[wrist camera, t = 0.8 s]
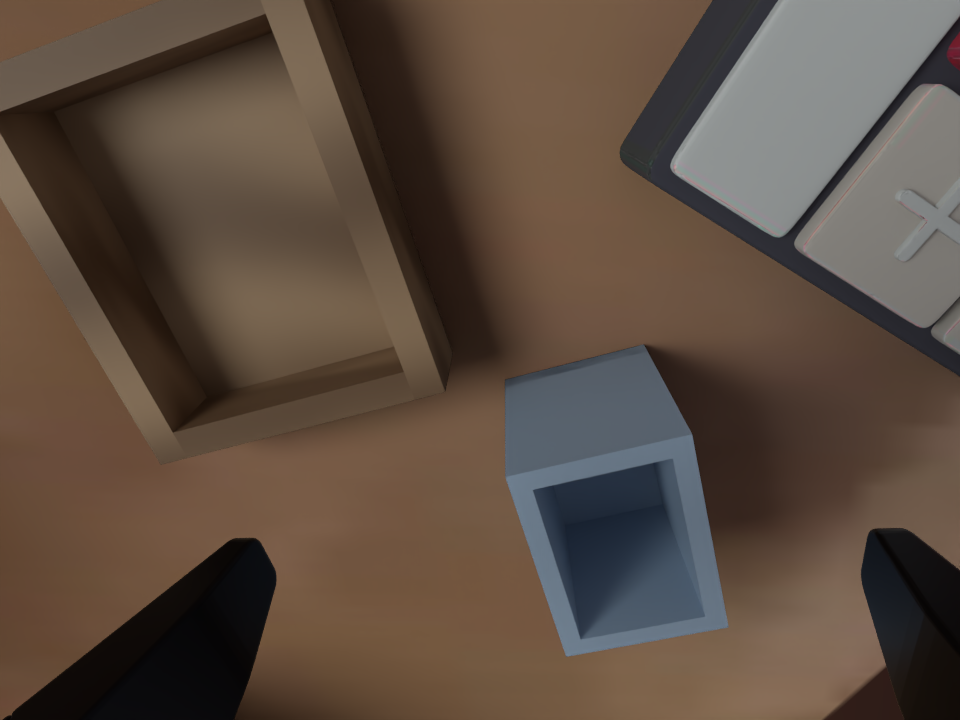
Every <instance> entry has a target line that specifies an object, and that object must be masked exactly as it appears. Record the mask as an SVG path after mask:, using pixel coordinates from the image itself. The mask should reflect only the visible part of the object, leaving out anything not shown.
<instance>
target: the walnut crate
mask: <svg viewBox="0 0 960 720" xmlns="http://www.w3.org/2000/svg"><path fill="white" fill-rule="evenodd" d="M0 198H1V199H2V201H3V203H4V204H5V206H6V208H7V209H8V211H9V213H10V214H11V216H12V218H13V219H14V221H15V223H16V224H17V226H18V228H19V229H20V231H21V233H22V234H23V236H24V238H25V239H26V241H27V243H28V244H29V246H30V248H31V249H32V251H33V253H34V254H35V256H36V258H37V259H38V261H39V263H40V264H41V266H42V268H43V269H44V271H45V273H46V274H47V276H48V278H49V279H50V281H51V283H52V284H53V286H54V288H55V289H56V291H57V293H58V294H59V296H60V298H61V299H62V301H63V303H64V304H65V306H66V308H67V309H68V311H69V313H70V314H71V316H72V318H73V319H74V321H75V323H76V324H77V326H78V328H79V329H80V331H81V333H82V334H83V336H84V338H85V339H86V341H87V343H88V344H89V346H90V348H91V349H92V351H93V353H94V354H95V356H96V358H97V359H98V361H99V363H100V364H101V366H102V368H103V369H104V371H105V373H106V374H107V376H108V378H109V379H110V381H111V383H112V384H113V386H114V388H115V389H116V391H117V393H118V394H119V396H120V398H121V399H122V401H123V403H124V404H125V406H126V408H127V409H128V411H129V413H130V414H131V416H132V418H133V419H134V421H135V423H136V424H137V426H138V428H139V429H140V431H141V433H142V434H143V436H144V438H145V439H146V441H147V443H148V444H149V446H150V448H151V449H152V451H153V453H154V454H155V456H156V458H157V459H158V461H159V463H160V464H161V465H162V464H166V463H170V462H174V461H178V460H181V459H185V458H189V457H193V456H197V455H201V454H205V453H209V452H213V451H217V450H221V449H225V448H229V447H232V446H236V445H240V444H244V443H248V442H252V441H256V440H260V439H264V438H268V437H272V436H276V435H280V434H283V433H287V432H291V431H295V430H299V429H303V428H307V427H311V426H315V425H319V424H323V423H327V422H331V421H334V420H338V419H342V418H346V417H350V416H354V415H358V414H362V413H366V412H370V411H374V410H378V409H381V408H385V407H389V406H393V405H397V404H401V403H405V402H409V401H413V400H417V399H421V398H425V397H429V396H432V395H436V394H440V393H444V392H445V391H446V386H447V381H448V375H449V370H450V365H451V360H452V355H453V353H452V350H451V347H450V344H449V341H448V339H447V336H446V333H445V330H444V327H443V324H442V321H441V318H440V315H439V313H438V310H437V307H436V304H435V301H434V298H433V295H432V292H431V289H430V287H429V284H428V281H427V278H426V275H425V272H424V269H423V266H422V264H421V261H420V258H419V255H418V252H417V249H416V246H415V243H414V240H413V238H412V235H411V232H410V229H409V226H408V223H407V220H406V217H405V214H404V212H403V209H402V206H401V203H400V200H399V197H398V194H397V191H396V189H395V186H394V183H393V180H392V177H391V174H390V171H389V168H388V165H387V163H386V160H385V157H384V154H383V151H382V148H381V145H380V142H379V139H378V137H377V134H376V131H375V128H374V125H373V122H372V119H371V116H370V113H369V111H368V108H367V105H366V102H365V99H364V96H363V93H362V90H361V88H360V85H359V82H358V79H357V76H356V73H355V70H354V67H353V64H352V62H351V59H350V56H349V53H348V50H347V47H346V44H345V41H344V38H343V36H342V33H341V30H340V27H339V24H338V21H337V18H336V15H335V13H334V10H333V7H332V4H331V1H330V0H162V1H159V2H156V3H154V4H151V5H149V6H146V7H143V8H141V9H138V10H136V11H133V12H130V13H128V14H125V15H122V16H120V17H117V18H115V19H112V20H109V21H107V22H104V23H102V24H99V25H96V26H94V27H91V28H89V29H86V30H83V31H81V32H78V33H76V34H73V35H70V36H68V37H65V38H63V39H60V40H57V41H55V42H52V43H49V44H47V45H44V46H42V47H39V48H36V49H34V50H31V51H29V52H26V53H23V54H21V55H18V56H16V57H13V58H10V59H8V60H5V61H3V62H0Z"/></svg>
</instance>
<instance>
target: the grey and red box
mask: <svg viewBox="0 0 960 720" xmlns="http://www.w3.org/2000/svg"><path fill="white" fill-rule="evenodd" d="M620 158H621V160H622V162H623V163H624V164H625V165H626V166H627V167H629V168H630V169H632V170H633V171H634V172H636V173H637V174H639V175H640V176H642V177H643V178H645V179H646V180H648V181H650V182H651V183H653V184H654V185H656V186H657V187H659V188H660V189H662V190H663V191H665V192H667V193H668V194H670V195H671V196H673V197H675V198H676V199H678V200H679V201H681V202H683V203H684V204H686V205H687V206H689V207H691V208H692V209H694V210H695V211H697V212H699V213H700V214H702V215H703V216H705V217H707V218H708V219H710V220H711V221H713V222H715V223H716V224H718V225H719V226H721V227H722V228H724V229H726V230H727V231H729V232H730V233H732V234H734V235H735V236H737V237H738V238H740V239H742V240H743V241H745V242H746V243H748V244H750V245H751V246H753V247H754V248H756V249H758V250H759V251H761V252H762V253H764V254H766V255H767V256H769V257H770V258H772V259H774V260H775V261H777V262H778V263H780V264H782V265H783V266H785V267H786V268H788V269H789V270H791V271H793V272H794V273H796V274H797V275H799V276H801V277H802V278H804V279H805V280H807V281H809V282H810V283H812V284H813V285H815V286H817V287H818V288H820V289H821V290H823V291H825V292H826V293H828V294H829V295H831V296H833V297H834V298H836V299H837V300H839V301H841V302H842V303H844V304H845V305H847V306H848V307H850V308H852V309H853V310H855V311H856V312H858V313H860V314H861V315H863V316H864V317H866V318H868V319H869V320H871V321H872V322H874V323H876V324H877V325H879V326H880V327H882V328H884V329H885V330H887V331H888V332H890V333H892V334H893V335H895V336H896V337H898V338H900V339H901V340H903V341H904V342H906V343H908V344H909V345H911V346H912V347H914V348H915V349H917V350H919V351H920V352H922V353H923V354H925V355H927V356H928V357H930V358H931V359H933V360H935V361H936V362H938V363H939V364H941V365H943V366H944V367H946V368H947V369H949V370H951V371H952V372H954V373H955V374H957V375H959V376H960V0H713V1H712V2H711V4H710V6H709V7H708V9H707V10H706V12H705V14H704V15H703V17H702V18H701V20H700V21H699V23H698V25H697V26H696V28H695V29H694V31H693V33H692V34H691V36H690V37H689V39H688V40H687V42H686V44H685V45H684V47H683V48H682V50H681V51H680V53H679V55H678V56H677V58H676V59H675V61H674V63H673V64H672V66H671V67H670V69H669V70H668V72H667V74H666V75H665V77H664V78H663V80H662V81H661V83H660V85H659V86H658V88H657V89H656V91H655V93H654V94H653V96H652V97H651V99H650V100H649V102H648V104H647V105H646V107H645V108H644V110H643V112H642V113H641V115H640V116H639V118H638V119H637V121H636V123H635V124H634V126H633V127H632V129H631V130H630V132H629V134H628V135H627V137H626V138H625V140H624V142H623V144H622V146H621V148H620Z"/></svg>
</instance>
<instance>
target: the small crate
mask: <svg viewBox="0 0 960 720" xmlns="http://www.w3.org/2000/svg"><path fill="white" fill-rule="evenodd" d="M505 477H506V480H507V483H508V486H509V489H510V492H511V495H512V498H513V501H514V504H515V507H516V510H517V513H518V516H519V518H520V521H521V524H522V527H523V530H524V533H525V536H526V539H527V542H528V545H529V548H530V551H531V554H532V557H533V560H534V563H535V566H536V569H537V572H538V575H539V578H540V580H541V583H542V586H543V589H544V592H545V595H546V598H547V601H548V604H549V607H550V610H551V613H552V616H553V619H554V622H555V625H556V628H557V631H558V634H559V637H560V639H561V642H562V645H563V648H564V651H565V654H566V657H567V656H573V655H578V654H584V653H589V652H595V651H600V650H606V649H611V648H617V647H622V646H628V645H633V644H639V643H644V642H650V641H656V640H661V639H667V638H672V637H678V636H683V635H689V634H694V633H700V632H705V631H711V630H716V629H722V628H727V627H728V622H727V617H726V612H725V606H724V601H723V596H722V590H721V585H720V580H719V574H718V569H717V564H716V558H715V553H714V548H713V542H712V537H711V532H710V526H709V521H708V516H707V511H706V505H705V500H704V495H703V489H702V484H701V479H700V473H699V468H698V463H697V457H696V452H695V447H694V441H693V436H692V433H691V431H690V429H689V427H688V426H687V424H686V422H685V420H684V418H683V416H682V414H681V413H680V411H679V409H678V407H677V405H676V403H675V402H674V400H673V398H672V396H671V394H670V392H669V390H668V389H667V387H666V385H665V383H664V381H663V379H662V377H661V376H660V374H659V372H658V370H657V368H656V366H655V364H654V363H653V361H652V359H651V357H650V355H649V353H648V351H647V350H646V348H645V346H644V345H640V346H636V347H632V348H628V349H624V350H620V351H616V352H612V353H608V354H605V355H601V356H597V357H593V358H589V359H585V360H581V361H577V362H573V363H569V364H565V365H561V366H557V367H553V368H549V369H546V370H542V371H538V372H534V373H530V374H526V375H522V376H518V377H514V378H510V379H506V380H505Z"/></svg>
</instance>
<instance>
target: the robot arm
mask: <svg viewBox="0 0 960 720" xmlns="http://www.w3.org/2000/svg"><path fill="white" fill-rule="evenodd" d="M861 579H862V585H863V589H864V593H865V596H866V599H867V603H868V606H869V609H870V613H871V616H872V619H873V623H874V626H875V629H876V633H877V636H878V639H879V643H880V646H881V649H882V653H883V656H884V659H885V663H886V666H887V669H888V672H889V676H890V679H891V683H892V686H893V689H894V692H895V695H896V698H897V701H898V705H899V707H900V710H901V712H902V715H903V717H904V720H960V570H959V569H958V568H956V567H955V566H954V565H953V564H951V563H950V562H949V561H948V560H946V559H945V558H944V557H943V556H941V555H940V554H939V553H937V552H936V551H935V550H934V549H932V548H931V547H930V546H929V545H927V544H926V543H925V542H924V541H922V540H921V539H920V538H919V537H917V536H916V535H915V534H913V533H912V532H910V531H908V530H906V529H903V528H878V529H872V530H871V531H870V532H869V534H868V537H867V542H866V547H865V553H864V558H863V563H862V568H861ZM275 587H276V571H275V568H274V567H273V565H272V563H271V561H270V559H269V557H268V555H267V553H266V552H265V550H264V548H263V546H262V544H261V543H260V541H259V540H257V539H256V538H235V539H232V540H230V541H228V542H227V543H226V544H224V545H223V546H222V547H221V548H219V549H218V550H217V551H216V552H214V553H213V554H212V555H210V556H209V557H208V558H207V559H205V560H204V561H203V562H202V563H200V564H199V565H198V566H197V567H195V568H194V569H193V570H191V571H190V572H189V573H188V574H186V575H185V576H184V577H183V578H181V579H180V580H179V581H178V582H176V583H175V584H174V585H173V586H171V587H170V588H169V589H167V590H166V591H165V592H164V593H162V594H161V595H160V596H159V597H157V598H156V599H155V600H154V601H152V602H151V603H150V604H149V605H147V606H146V607H145V608H143V609H142V610H141V611H140V612H138V613H137V614H136V615H135V616H133V617H132V618H131V619H130V620H128V621H127V622H126V623H124V624H123V625H122V626H121V627H119V628H118V629H117V630H116V631H114V632H113V633H112V634H111V635H109V636H108V637H107V638H105V639H104V640H103V641H102V642H100V643H99V644H98V645H97V646H95V647H94V648H93V649H92V650H90V651H89V652H88V653H86V654H85V655H84V656H83V657H81V658H80V659H79V660H78V661H76V662H75V663H74V664H73V665H71V666H70V667H69V668H68V669H66V670H65V671H64V672H62V673H61V674H60V675H59V676H57V677H56V678H55V679H54V680H52V681H51V682H50V683H49V684H47V685H46V686H45V687H43V688H42V689H41V690H40V691H38V692H37V693H36V694H35V695H33V696H32V697H31V698H30V699H28V700H27V701H26V702H24V703H23V704H22V705H21V706H19V707H18V708H17V709H16V710H15V711H14V712H13V713H12V716H11V715H9V716H7V717H5V718H4V719H3V720H234V718H235V716H236V713H237V710H238V708H239V705H240V702H241V700H242V697H243V695H244V692H245V689H246V686H247V684H248V681H249V678H250V675H251V672H252V668H253V665H254V662H255V659H256V655H257V651H258V648H259V644H260V641H261V637H262V633H263V630H264V626H265V623H266V619H267V616H268V612H269V608H270V605H271V601H272V598H273V594H274V590H275Z"/></svg>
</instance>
